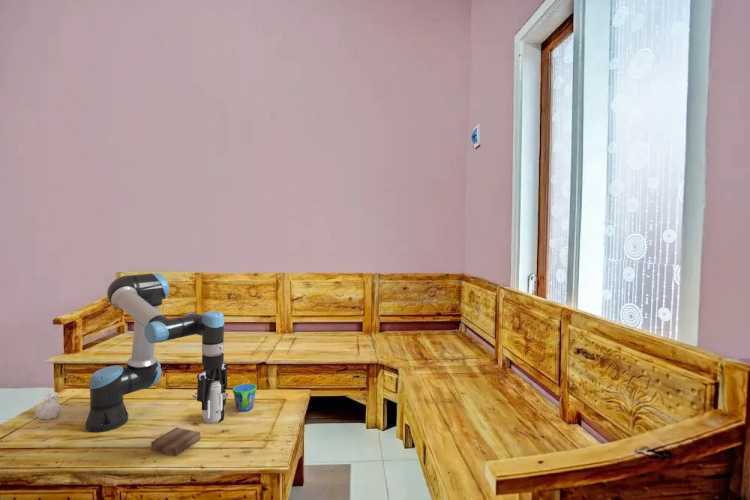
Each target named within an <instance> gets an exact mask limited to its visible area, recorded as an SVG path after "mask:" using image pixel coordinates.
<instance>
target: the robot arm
mask: <svg viewBox="0 0 750 500" xmlns="http://www.w3.org/2000/svg"><path fill="white" fill-rule="evenodd" d="M169 294H170V285H169V282H168V280H167V278H166V277H165V276H164V275H163V274H161V273H152V272H150V273H143V274H132V275H131V274H130V275H128V274H126V275H122V276H120V277H117V278H116V279H114V280H113V281H112V282H111V283H110V284H109V286H108V288H107V290H106V297H107V300H108V302H109V303H110V304H111V305H112V306H113V307H114V308H116V309H121V310H123V311H124V312H125V313H126V315H128V316H129V317H131V319H133V320H134V323H133V334H132V347H131V348H132V349H131V357H129V358H128V360H127V361H126V366H124V367H123V366H122V365H118V364H117V365H116V364H115V365H112V366H111V365H110V366H106V367H102V368H100V369H98V370H96V371H94V373H93V374H91V376H90V378H89V380H90V381H89V385H88V386H89V395H90V396H89V397H90V398H89V401H90V405H89V407H90V410H89V412H88V415H87V419H86V421H85V430H86V431H88V432H91V433H101V432H107V431H110V430H114V429H117V428H119V427H121V426H123V425H125V424H126V423H127V422H128V421H129V412H128V410H127V408H126V406H125V403H124V396H125V395H129V394H131V393H132V394H133V393H135V392H138V391H141V390H147V389H149V388H151V387H153V386H156V385H157V384H158V383H159V381H160V379H161V376H162V368H161V367H162V365H161V364H160V361H158V360H157V358H156V357H155V356H154V354H155V353H154V352H155V344H159V343H164V342H168V341H171V340H176V339H181V338H187V337H189V336H194V335H198V336H201V341H202V342H201V354H202V355H201V365H202V366H203V369H202V372H201V373H200V374H199V373H198V374H197V375H196V379H197V390H196V391H197V392H196V401H197V402H201V410H202V418H203V419H204V418H208V419H209V418H210V400H208V398H209V394H210V389H211V384H212V382H213V380H216V381H219V383H220V384H221V411H222V406H223V394H226V392H227V389H228V366H229V365H228V364H226V363H224V358H225V356H224V354H225V353H224V341H225V340H224V339H225V338H224V337H225V336H224V335H225V320H224V319H225V318H224V313H223V312H221V311H207V312H203V314H201V313H197V312H190V313H186V314H185V315H184V316H179V317H173V318H168V317H167V316H165V315H164V314H163V313H162V312H160V311H159V308H160V307H161V306H162V305H163V300H165V299H166V298H168V297H169Z"/></svg>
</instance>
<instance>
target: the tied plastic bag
mask: <svg viewBox="0 0 750 500" xmlns="http://www.w3.org/2000/svg"><path fill="white" fill-rule="evenodd" d="M59 396H60V395H59V392H57V391H53V392H49V393H48V394H45V396H44V398H43V400H44V401H45V402H42V403H39V404H37V405H36V406H35V409H34V415H35V417H36V418H38V419H39V420H52V419H56V418H58V415H59V414H60V412H61V411H62V409H63V407H62V406H61V404H59V403H57V402H56V400H58V399H59Z"/></svg>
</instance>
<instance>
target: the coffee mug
mask: <svg viewBox="0 0 750 500" xmlns="http://www.w3.org/2000/svg"><path fill="white" fill-rule="evenodd" d="M226 402H227V394H226V393H223V406H222V411H221V419H220V420H219V422H217V423H216V424H219V423H221V421H222V422H224V419H225V414H226V404H227V403H226Z"/></svg>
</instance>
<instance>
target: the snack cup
mask: <svg viewBox="0 0 750 500" xmlns="http://www.w3.org/2000/svg"><path fill="white" fill-rule="evenodd" d="M256 391H257V385H256V384H254V383H241V384H239V385H236V386H234V387H233V388H232V394H233V397H234V401H235V402H234V403H235V408H236V411H237V412H242V413H243V412H244V413H245V412H249V411H251V410H253V408H254V406H255V405H254V403H255V399H256Z"/></svg>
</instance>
